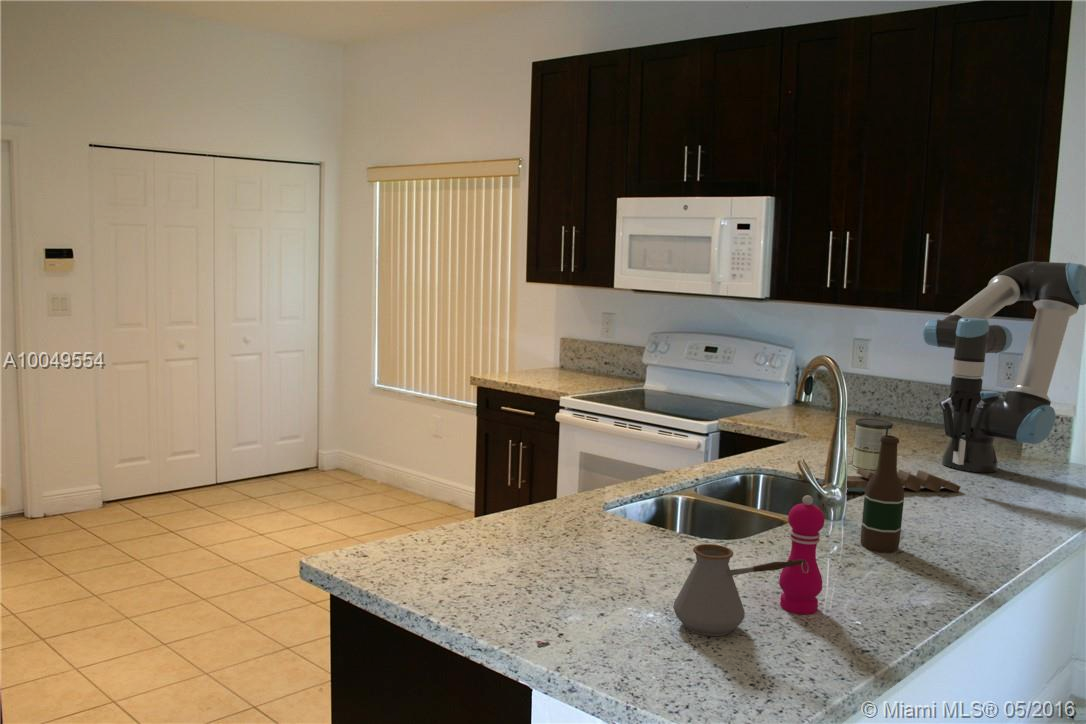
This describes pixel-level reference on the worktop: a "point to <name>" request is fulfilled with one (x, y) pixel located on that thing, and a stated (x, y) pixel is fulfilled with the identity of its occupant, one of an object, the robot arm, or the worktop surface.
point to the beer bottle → (883, 502)
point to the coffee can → (869, 442)
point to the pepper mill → (804, 541)
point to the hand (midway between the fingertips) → (957, 463)
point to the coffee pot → (716, 591)
